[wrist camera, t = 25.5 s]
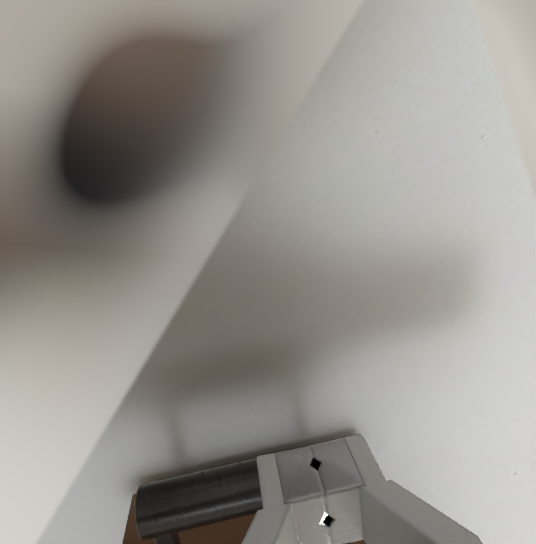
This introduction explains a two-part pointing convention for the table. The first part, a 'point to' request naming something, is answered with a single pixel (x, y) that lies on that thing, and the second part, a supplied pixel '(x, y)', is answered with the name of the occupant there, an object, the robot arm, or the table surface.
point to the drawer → (197, 507)
